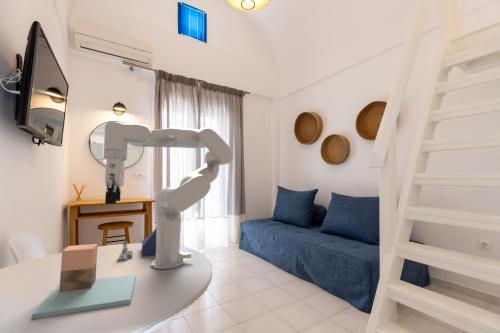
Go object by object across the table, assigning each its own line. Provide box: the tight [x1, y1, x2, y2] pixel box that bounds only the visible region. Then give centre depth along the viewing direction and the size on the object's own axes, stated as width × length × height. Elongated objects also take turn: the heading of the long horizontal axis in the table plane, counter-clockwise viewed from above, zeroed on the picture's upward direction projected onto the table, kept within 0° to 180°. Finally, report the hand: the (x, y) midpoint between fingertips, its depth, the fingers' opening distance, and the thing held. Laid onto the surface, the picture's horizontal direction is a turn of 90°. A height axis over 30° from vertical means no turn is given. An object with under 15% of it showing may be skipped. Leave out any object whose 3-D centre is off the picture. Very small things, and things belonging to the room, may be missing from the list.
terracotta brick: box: [60, 243, 99, 272], centre depth 74 cm, size 8×6×6 cm
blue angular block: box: [141, 226, 157, 257], centre depth 114 cm, size 12×12×12 cm
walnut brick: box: [59, 262, 98, 292], centre depth 74 cm, size 8×6×6 cm
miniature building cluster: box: [116, 240, 134, 262], centre depth 103 cm, size 9×9×8 cm
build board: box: [31, 274, 137, 320], centre depth 71 cm, size 22×18×1 cm
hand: (113, 202), depth 86 cm, fingers open, 9 cm apart
